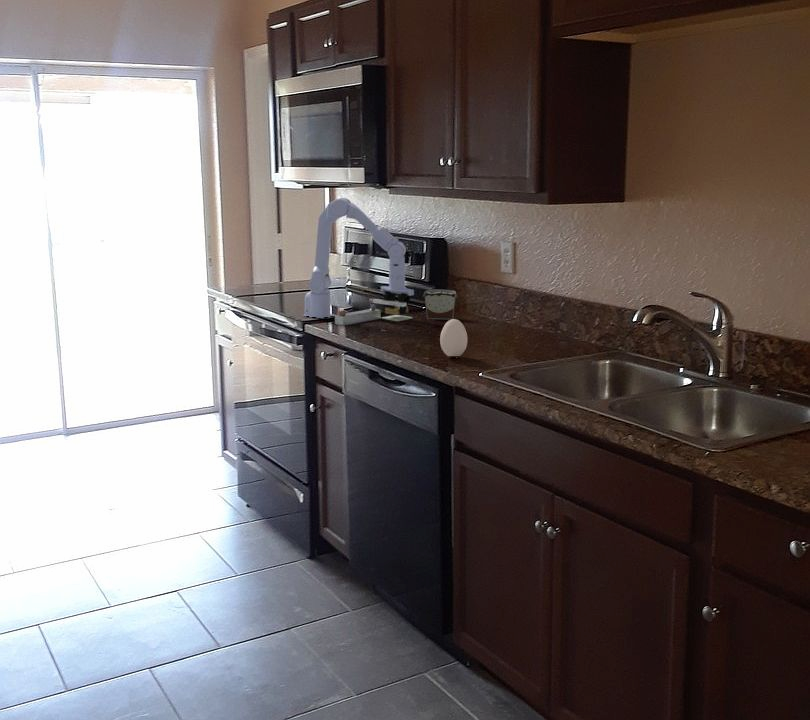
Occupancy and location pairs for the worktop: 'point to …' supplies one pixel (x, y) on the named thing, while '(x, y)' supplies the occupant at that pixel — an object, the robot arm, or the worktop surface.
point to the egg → (453, 338)
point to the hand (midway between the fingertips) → (397, 313)
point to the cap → (394, 310)
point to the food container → (440, 304)
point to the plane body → (357, 316)
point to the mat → (397, 318)
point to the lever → (387, 302)
